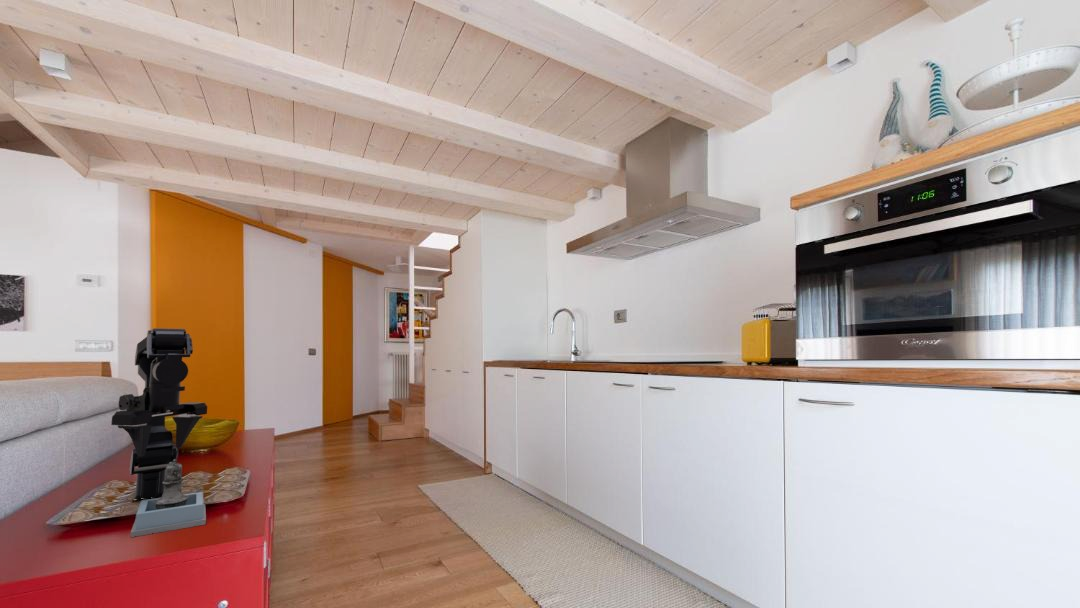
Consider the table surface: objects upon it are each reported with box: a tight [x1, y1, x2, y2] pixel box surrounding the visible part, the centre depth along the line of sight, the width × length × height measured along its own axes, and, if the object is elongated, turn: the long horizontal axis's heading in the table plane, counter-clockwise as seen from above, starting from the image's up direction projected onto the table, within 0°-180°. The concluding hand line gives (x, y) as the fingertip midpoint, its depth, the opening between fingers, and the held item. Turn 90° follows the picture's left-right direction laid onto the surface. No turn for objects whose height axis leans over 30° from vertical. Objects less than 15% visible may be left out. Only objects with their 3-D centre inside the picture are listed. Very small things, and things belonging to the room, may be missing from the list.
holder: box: [130, 491, 207, 538], centre depth 102 cm, size 12×12×4 cm
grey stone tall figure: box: [154, 459, 189, 510], centre depth 102 cm, size 6×6×12 cm
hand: (160, 451), depth 110 cm, fingers open, 9 cm apart
